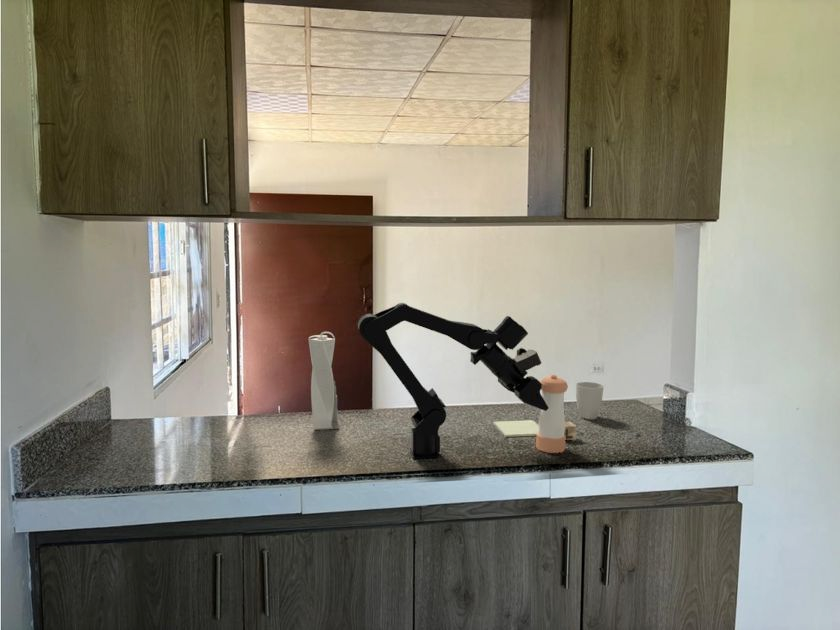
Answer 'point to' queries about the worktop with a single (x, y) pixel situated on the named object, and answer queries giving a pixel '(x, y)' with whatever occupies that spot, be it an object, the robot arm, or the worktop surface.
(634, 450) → the worktop surface
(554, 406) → the pepper shaker
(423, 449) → the robot arm
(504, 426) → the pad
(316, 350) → the skyscraper
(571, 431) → the letter cube
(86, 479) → the worktop surface
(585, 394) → the cup
